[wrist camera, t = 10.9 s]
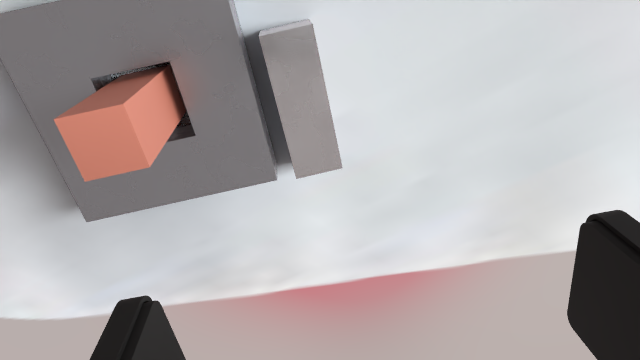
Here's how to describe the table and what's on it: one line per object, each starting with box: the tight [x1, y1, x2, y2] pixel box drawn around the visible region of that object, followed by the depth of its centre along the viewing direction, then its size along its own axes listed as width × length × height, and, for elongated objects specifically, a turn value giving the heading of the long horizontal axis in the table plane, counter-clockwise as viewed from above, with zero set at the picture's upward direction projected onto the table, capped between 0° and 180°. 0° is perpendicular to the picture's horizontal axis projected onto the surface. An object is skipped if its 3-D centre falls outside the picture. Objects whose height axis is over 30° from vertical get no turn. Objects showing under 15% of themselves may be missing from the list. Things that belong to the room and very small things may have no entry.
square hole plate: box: [0, 0, 277, 222], centre depth 29 cm, size 14×14×3 cm
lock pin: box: [54, 65, 186, 182], centre depth 25 cm, size 3×3×10 cm
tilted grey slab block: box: [259, 19, 342, 179], centre depth 30 cm, size 10×3×3 cm, turn 12°
